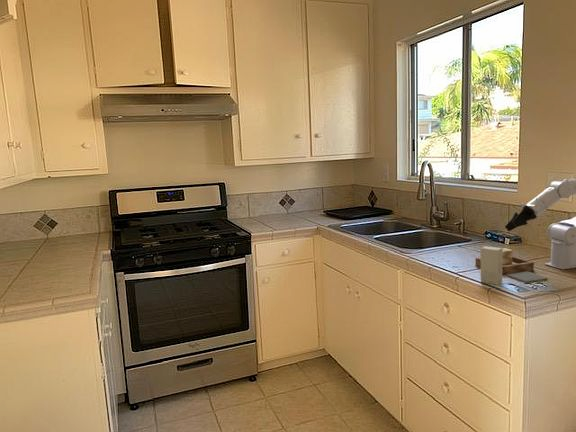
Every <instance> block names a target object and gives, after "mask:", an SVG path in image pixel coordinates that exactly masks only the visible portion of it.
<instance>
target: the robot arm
mask: <svg viewBox="0 0 576 432" xmlns="http://www.w3.org/2000/svg"><path fill="white" fill-rule="evenodd" d="M573 195H576V176H574V178H571V179H568V178H565V179H563V180H562V181H558V180H554V181H552V182H548V183H547V185H546V188H545V189H544V190H543V191H542V192H541V193H539V194H538V195H537V196H535V197H534V198H533V199H531V200H530V201H529V202H527V203H525V202H522V203H521V204H520V206H521V210H520V211H519V214H518V213H517V212H514V213H513V216H512V217H511V219H510V220H509V221H508V223H506V225H505V226H504V227H505V229H506V230H507V231H508V232H510V231H512V230H515V229H517V228H518V227H522V226H526V225H528V221H531V220H537V218H538V217H539V216H540V215H541V214H543V213H544V212H546V211H547V210H548V209H549V208H551V207H552V206H554V204H556V203H557V202H559V201H560V200H561V199H569V198H570V197H571V196H573ZM546 233H547V237H548V238H549V240H550V242H551V248H550V262H544V265H545V266H550V267H552V268H555V269H559V270H568V269H574V268H576V216H574V217H572V218H569V219H566V220H565V219H564V220H561V221H559V222H553V223H551V224H550V225H549V226H548V228H547V231H546Z"/></svg>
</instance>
